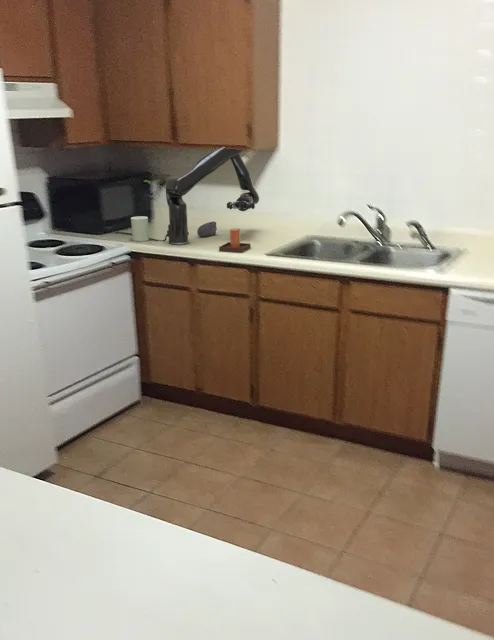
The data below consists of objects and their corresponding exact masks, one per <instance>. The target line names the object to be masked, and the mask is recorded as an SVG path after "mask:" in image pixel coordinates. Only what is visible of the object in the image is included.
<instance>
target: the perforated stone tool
mask: <svg viewBox="0 0 494 640" xmlns="http://www.w3.org/2000/svg"><path fill="white" fill-rule="evenodd" d="M217 228H218V227H217V221H209V222H205V223H203V224H202V225H200V226H199V227H197V231H196V234H197V236H198V237H201V238H204V237H210V236H212V235H213V236H214V235H215V234H216V233H217Z"/></svg>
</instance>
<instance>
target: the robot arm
mask: <svg viewBox="0 0 494 640" xmlns="http://www.w3.org/2000/svg"><path fill="white" fill-rule="evenodd" d="M243 152H244V151H243V150H236V149H226V148H225V147H224V146H222V147H220V148H216V149H213V150H211V151H209V152H207V153H205V154H204V155H202V156H201V157H200V158H199V159H197V161H196V162H195V164H194V165H193V167H192V169H191V170H190V171H188V172H187V173H185V174H184V175H182V176H169V177H168V179H166V182H165V197H166V204H167V206H168V218H169V220H168V221H169V224H168V225H167V230H166V234H165V236H164V239H162V240H161V239H155V238H153V237H151V238H150V237H149V240H148V241H155V242H165V241H167V238H168V244H171V245H175V246H176V245H187V244H189V234H190V232H189V225H188V224H189V223H188V206H187V203H186V202H185V200H184V199H183V197H184V196H185V195H187V194H188V193H189V192H190V191H191V190H192V189H194V187H196V186H197V185H198V184H199V183H200V182H201V181H203V180H204V179H206V178H207V177H209V175H211V174H213V173H214V172H215V171H216V170H218V169H219V168H220V167H221V166H223V165H224V164H225V163H227V162H228V161H231V164H232V166H233V169H234V172H235V175H236V177H237V182H238V185H239V189H241V190H242V191H247V192H243V193H240V195H239V197H237V199H236V201H228V202H226V209H229V210H232V209H233V210H238V211H240V212H245V211H248V210H250V209H252V210H254V209H255V208H256V205H257V204H259V202H260V196H259V193H258V191H257V190H256V188H255V186H254V184H253V181H252V176H251V173H250V171H249V169H248V167H247V165H246V164H245V162H244V160H243V159H242V156H241V153H243ZM111 230H112V231H109V230H107V231H106V234H108V233H109V232H111V233H115V234H122V235H123V234H124V235H130V236H132V232H125V231H116V230H113V229H111Z"/></svg>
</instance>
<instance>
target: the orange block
mask: <svg viewBox="0 0 494 640" xmlns="http://www.w3.org/2000/svg"><path fill="white" fill-rule="evenodd" d="M229 242H230V247H233V248H240V243H241V229H240V228H230V229H229Z"/></svg>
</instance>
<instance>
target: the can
mask: <svg viewBox="0 0 494 640" xmlns="http://www.w3.org/2000/svg"><path fill="white" fill-rule="evenodd" d="M130 224H131V225H130V226H131V233H132V235H131V237H132V241H133V242H147V241H150V240H149V238H150V231H149V229H150V228H149V217H148V216H145V215H143V216H142V215H141V216H140V215H139V216H132V217H130Z"/></svg>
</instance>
